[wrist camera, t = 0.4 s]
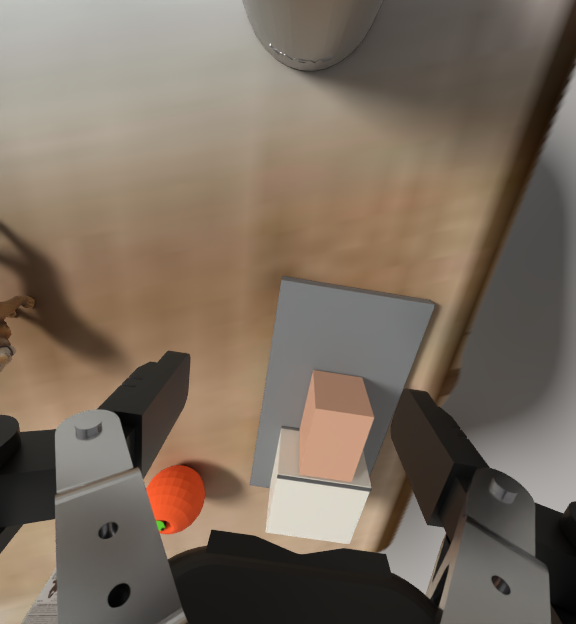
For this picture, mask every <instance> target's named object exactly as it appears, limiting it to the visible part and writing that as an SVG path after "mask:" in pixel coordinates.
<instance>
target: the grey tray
mask: <svg viewBox="0 0 576 624" xmlns="http://www.w3.org/2000/svg"><path fill="white" fill-rule="evenodd" d="M434 307H435V304H434V303H433V302H432V301H431V300H427V299H421V298H415V297H409V296H402V295H396V294H390V293H384V292H378V291H372V290H366V289H360V288H353V287H347V286H341V285H335V284H329V283H323V282H317V281H310V280H304V279H298V278H292V277H286V276H282V281H281V287H280V294H279V300H278V306H277V313H276V319H275V326H274V332H273V338H272V345H271V351H270V358H269V364H268V371H267V377H266V383H265V390H264V396H263V403H262V409H261V415H260V422H259V428H258V435H257V441H256V448H255V454H254V460H253V467H252V473H251V480H250V485H252V486H259V487H266V488H270V494H269V504H268V514H267V524H266V533H273V534H280V535H288V536H295V537H302V538H309V539H316V540H323V541H330V542H338V543H345V544H349V543H350V541H351V538H352V536H353V533H354V530H355V528H356V525H357V523H358V520H359V518H360V515H361V513H362V510H363V508H364V505H365V503H366V500H367V497H368V495H369V492H370V491H371V483H370V479H369V477H370V474H371V471H372V469H373V466H374V464H375V461H376V458H377V456H378V453H379V451H380V448H381V445H382V443H383V440H384V437H385V435H386V432H387V430H388V427H389V424H390V422H391V419H392V417H393V414H394V411H395V409H396V406H397V403H398V401H399V398H400V396H401V393H402V390H403V388H404V385H405V383H406V380H407V377H408V375H409V372H410V369H411V367H412V364H413V362H414V359H415V356H416V354H417V351H418V348H419V346H420V343H421V341H422V338H423V335H424V333H425V330H426V328H427V325H428V322H429V320H430V317H431V314H432V312H433V309H434ZM313 370H317V371H324V372H330V373H337V374H343V375H349V376H356V377H362V379H363V382H364V385H365V388H366V392H367V395H368V398H369V402H370V405H371V408H372V411H373V415H374V420H373V423H372V425H371V428H370V431H369V434H368V437H367V440H366V442H365V445H364V448H363V451H362V454H361V457H360V460H359V462H358V465H357V468H356V471H355V474H354V477H353V479H352V482H347V481H340V480H333V479H326V478H319V477H312V476H306V475H299V430H300V425H301V421H302V417H303V412H304V408H305V403H306V399H307V395H308V390H309V386H310V381H311V377H312V373H313Z"/></svg>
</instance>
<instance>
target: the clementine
mask: <svg viewBox="0 0 576 624" xmlns="http://www.w3.org/2000/svg"><path fill="white" fill-rule="evenodd" d="M146 491H147V494H148V497H149V500H150V504H151V507H152V510H153V514H154V517H155V520H156V523H157V527H158V530H159V533H162V534H173V533H177V532H180V531H182V530H184V529H185V528H187V527H188V526H190V525H191V524H192V523H193V522H194V520H195V519H196V518H197V517H198V515H199V514H200V512H201V510H202V507H203V504H204V499H205V489H204V483H203V481H202V479H201V477H200V475H199V474H198V473H197V472H196V471H195V470H193V469H192V468H189V467H187V466H182V465H176V466H171V467H169V468H166V469H164V470H162V471H161V472H160V473H158V474H157V475H156V476H155V477H154V478H153V479H152V481H151V482H150V484H149V485H148V487H147V488H146Z"/></svg>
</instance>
